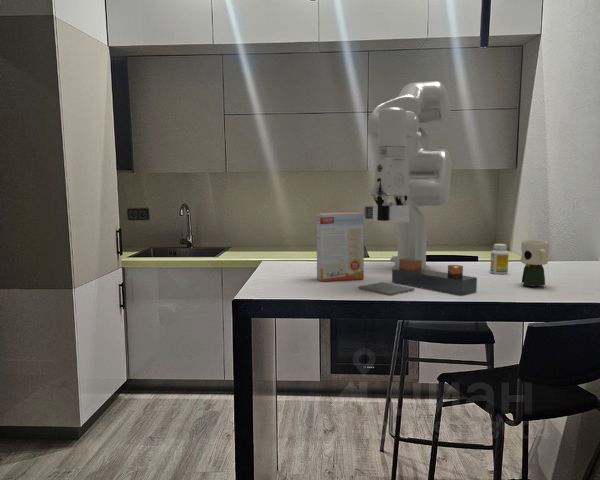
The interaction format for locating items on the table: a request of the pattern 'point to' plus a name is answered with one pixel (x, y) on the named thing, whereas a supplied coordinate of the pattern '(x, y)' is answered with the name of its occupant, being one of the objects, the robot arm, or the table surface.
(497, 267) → the supplement bottle
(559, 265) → the table surface
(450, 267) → the body
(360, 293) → the table surface
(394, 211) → the lever cap
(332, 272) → the cracker box
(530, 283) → the character mug
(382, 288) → the rubber mat
